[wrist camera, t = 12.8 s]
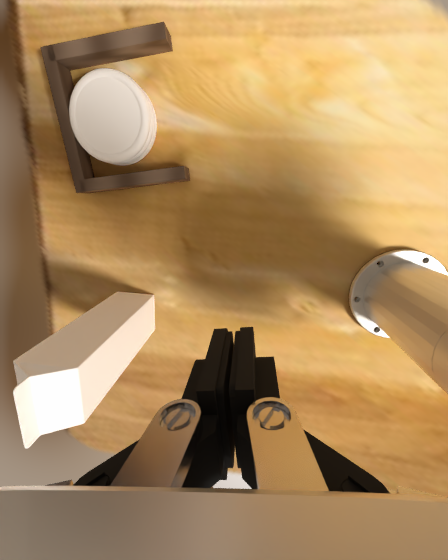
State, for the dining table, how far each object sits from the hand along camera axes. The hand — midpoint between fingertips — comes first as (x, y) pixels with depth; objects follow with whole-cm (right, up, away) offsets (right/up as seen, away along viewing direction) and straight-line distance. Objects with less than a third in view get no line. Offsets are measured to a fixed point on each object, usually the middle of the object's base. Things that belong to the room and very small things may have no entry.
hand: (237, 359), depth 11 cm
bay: (-13, +24, +23) cm, 35 cm away
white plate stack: (-14, +24, +23) cm, 36 cm away
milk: (-14, -1, +30) cm, 34 cm away
